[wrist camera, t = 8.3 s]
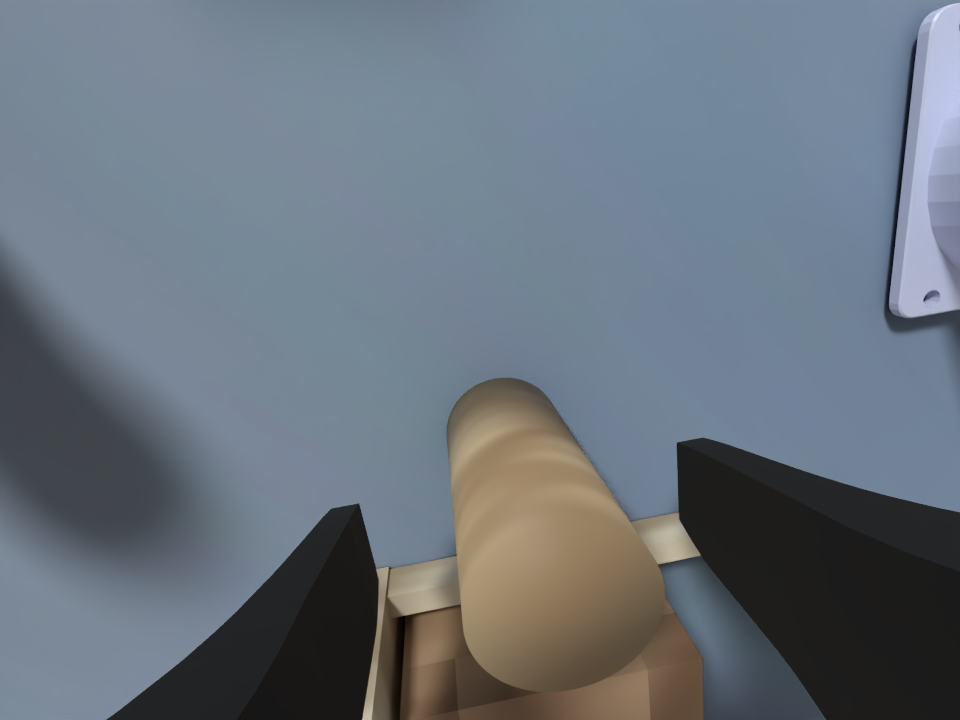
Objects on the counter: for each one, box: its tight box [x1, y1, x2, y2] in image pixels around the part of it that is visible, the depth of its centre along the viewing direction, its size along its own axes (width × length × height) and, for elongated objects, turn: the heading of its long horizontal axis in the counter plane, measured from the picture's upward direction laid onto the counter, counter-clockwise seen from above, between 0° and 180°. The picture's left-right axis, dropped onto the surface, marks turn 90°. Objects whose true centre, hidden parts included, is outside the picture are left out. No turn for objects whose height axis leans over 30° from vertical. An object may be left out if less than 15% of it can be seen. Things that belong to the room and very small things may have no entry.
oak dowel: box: [447, 378, 665, 692], centre depth 11 cm, size 3×3×7 cm
